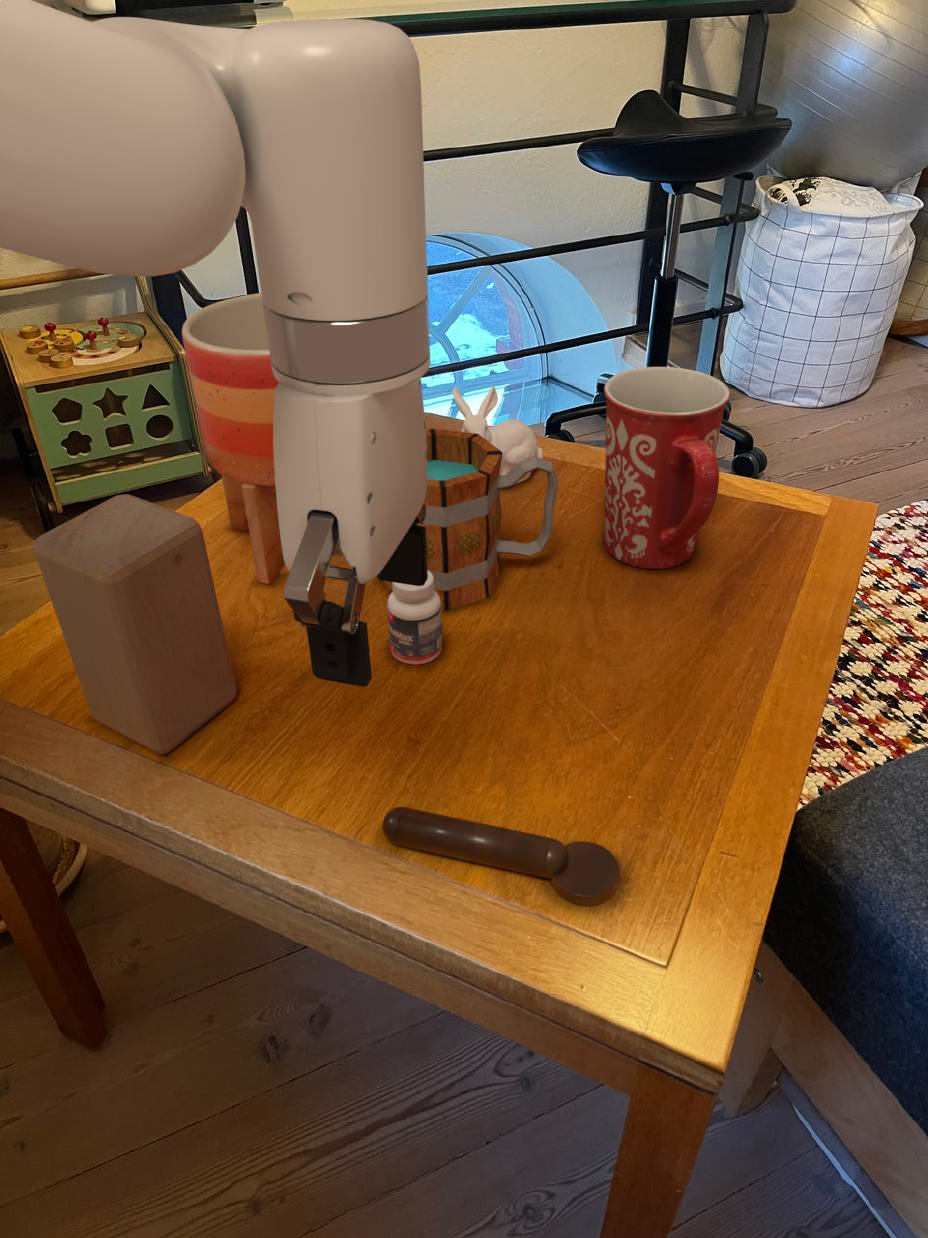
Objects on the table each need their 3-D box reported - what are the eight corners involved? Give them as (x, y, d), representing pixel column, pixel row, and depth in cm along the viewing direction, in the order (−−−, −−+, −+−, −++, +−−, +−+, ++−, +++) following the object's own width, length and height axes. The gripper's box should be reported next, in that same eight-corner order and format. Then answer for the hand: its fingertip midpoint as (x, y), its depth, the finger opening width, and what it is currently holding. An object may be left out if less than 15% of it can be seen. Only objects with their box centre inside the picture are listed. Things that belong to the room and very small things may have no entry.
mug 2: (577, 523, 113) (588, 370, 101) (678, 512, 115) (701, 360, 103) (626, 609, 98) (646, 442, 86) (741, 595, 100) (776, 429, 88)
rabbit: (474, 499, 118) (474, 412, 111) (442, 469, 124) (439, 385, 117) (554, 478, 122) (559, 392, 115) (519, 450, 129) (521, 368, 122)
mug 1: (384, 615, 98) (374, 491, 89) (380, 548, 109) (370, 432, 100) (565, 602, 99) (573, 479, 90) (543, 537, 110) (548, 421, 101)
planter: (343, 601, 100) (316, 363, 84) (188, 568, 106) (135, 339, 90) (413, 514, 115) (402, 298, 99) (274, 489, 121) (243, 281, 105)
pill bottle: (380, 648, 93) (374, 576, 88) (420, 627, 96) (416, 556, 91) (412, 673, 90) (408, 600, 85) (452, 651, 93) (450, 579, 88)
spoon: (373, 859, 72) (370, 834, 70) (395, 810, 76) (393, 785, 74) (612, 913, 68) (616, 888, 66) (622, 858, 72) (626, 833, 70)
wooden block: (242, 698, 87) (204, 517, 75) (163, 762, 81) (107, 575, 69) (169, 663, 92) (122, 486, 80) (88, 721, 85) (23, 538, 73)
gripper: (344, 276, 50) (367, 541, 60) (183, 400, 37) (247, 713, 47) (475, 286, 49) (476, 557, 59) (356, 419, 35) (384, 740, 45)
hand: (374, 626), depth 53 cm, fingers open, 9 cm apart
